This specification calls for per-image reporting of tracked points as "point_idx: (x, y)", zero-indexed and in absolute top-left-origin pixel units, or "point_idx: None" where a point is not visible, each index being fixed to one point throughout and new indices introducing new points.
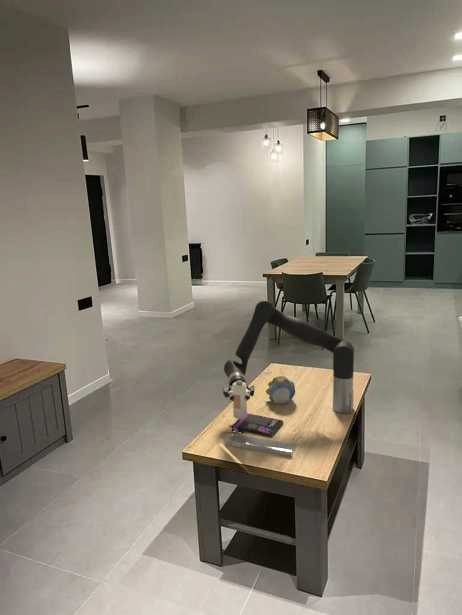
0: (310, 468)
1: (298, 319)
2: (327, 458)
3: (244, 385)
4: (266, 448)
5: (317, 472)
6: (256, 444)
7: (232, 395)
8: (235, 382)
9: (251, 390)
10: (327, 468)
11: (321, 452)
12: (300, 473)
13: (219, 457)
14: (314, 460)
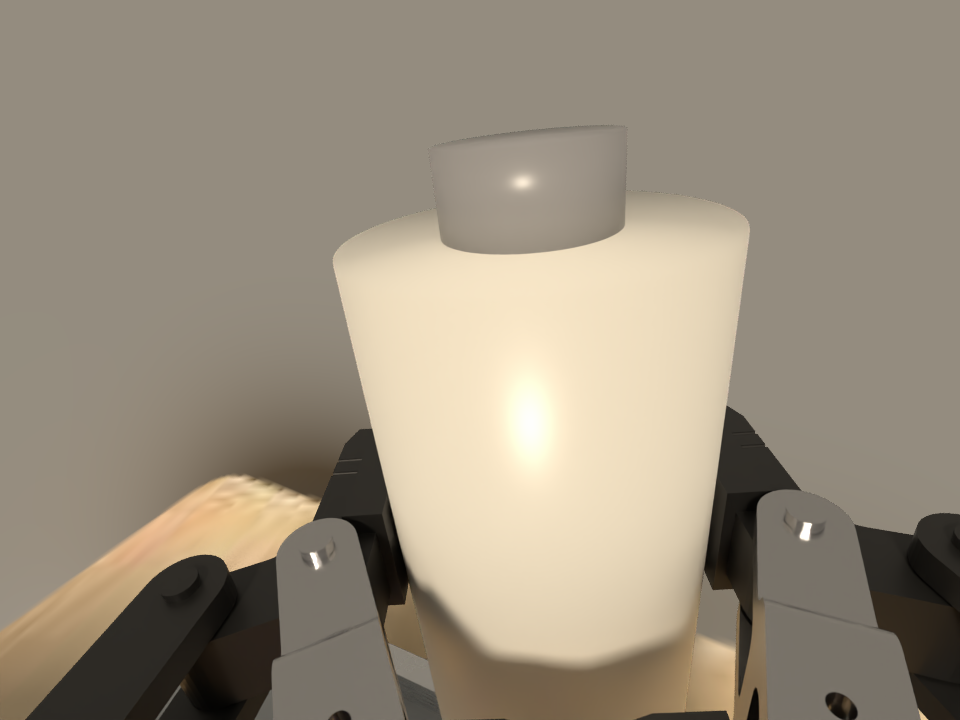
0: (213, 533)
1: None
2: (56, 608)
3: (409, 220)
4: None
5: (206, 508)
6: (426, 683)
7: None
8: (681, 260)
9: (201, 578)
10: (140, 531)
11: (18, 675)
12: (281, 504)
13: (718, 658)
14: (138, 593)
